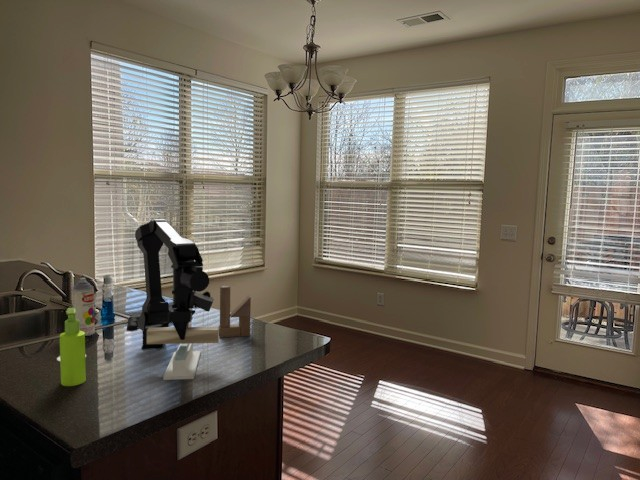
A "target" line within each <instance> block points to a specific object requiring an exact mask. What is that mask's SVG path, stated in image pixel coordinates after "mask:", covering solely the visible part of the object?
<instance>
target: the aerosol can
mask: <svg viewBox="0 0 640 480" xmlns="http://www.w3.org/2000/svg"><path fill="white" fill-rule="evenodd" d="M86 278H87V277H80V278H79V280H78V282H77V283H76V284H75V285H74V286H72V288H71V299H72V302H71V303H72V304H71V305H72V306H71V308H74V307H76V311H75V314H76V319H78V320H79V331H83V332H85V336H89V337H92V336H94V335H95V331H96V330H95V329H96V328H95V289H94V285H91V283H90V282H89V281H87V280H86ZM93 334H94V335H93ZM91 335H92V336H91Z"/></svg>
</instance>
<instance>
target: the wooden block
mask: <svg viewBox="0 0 640 480" xmlns="http://www.w3.org/2000/svg"><path fill="white" fill-rule="evenodd" d="M219 294H220V295H219V325H218V327H219V339H221V338H222V339H223V338H231V337H232V338H233V337H234V338H235V337H250V336H251V309H252V308H251V307H252V306H251V304H252V303H251V300H252V298H251V296H250V295H248V294H247V296H246V297H245V298H244V299H243V300H242V301H241V302H240V303H239V304H238V306H236V307H235V308H234V309H233V310H232V311H231V286H229V285H221V286H220V287H219ZM231 318H238V324H231Z"/></svg>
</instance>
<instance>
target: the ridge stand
mask: <svg viewBox="0 0 640 480" xmlns="http://www.w3.org/2000/svg"><path fill="white" fill-rule="evenodd" d="M201 353H202V351H201V350H194V343H193V344H178V347H177V350H176V351H174V352H173V354H172V356H171V359H170V361H169V363H168V366H167V368H166V370H165V372H164V374H163V377H162V379H163V381H168V380H169V381H170V380H171V381H172V380H173V381H174V380H194V379H195V376H196V372H197V368H198V365H199V361H200V358H201V355H202V354H201Z"/></svg>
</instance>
